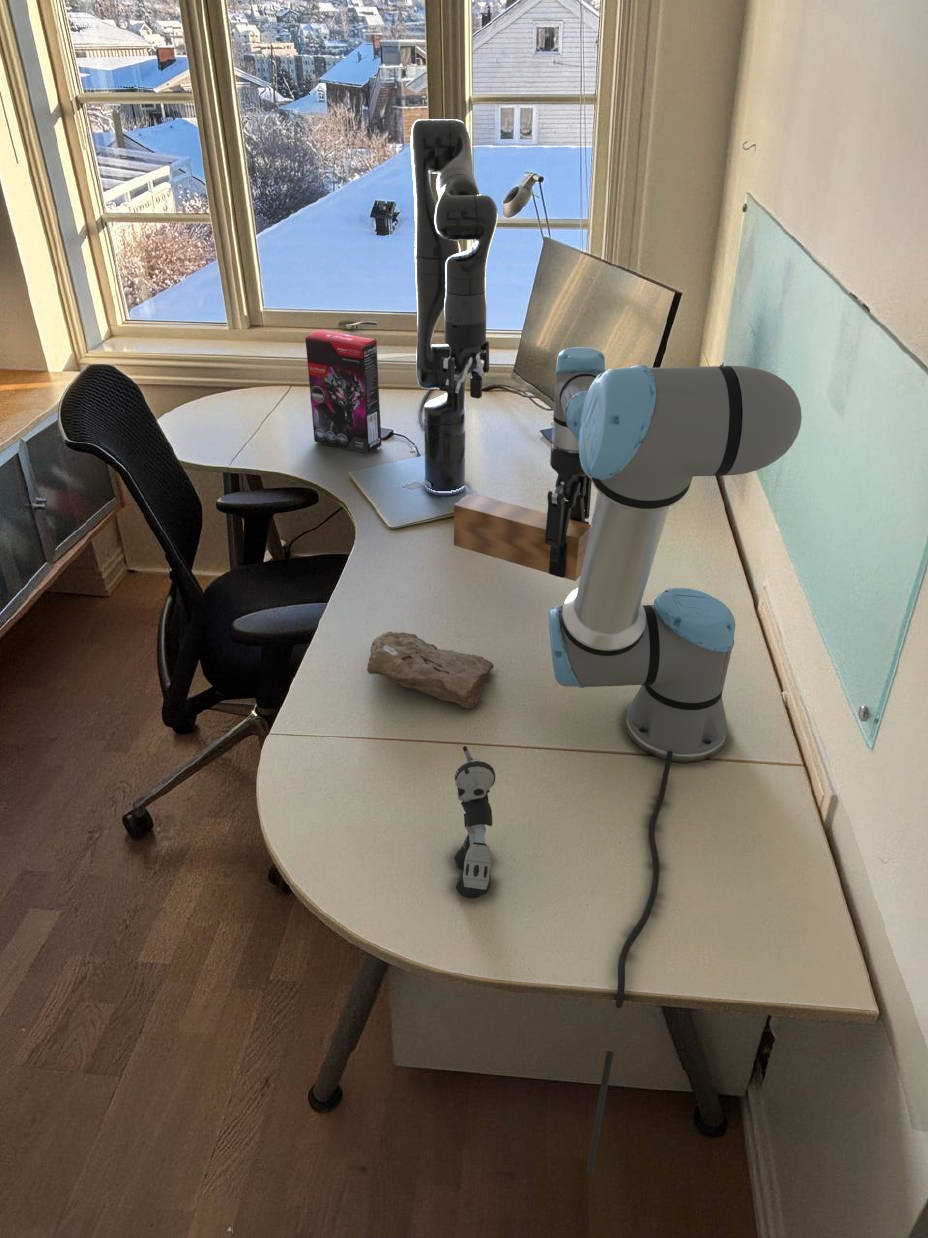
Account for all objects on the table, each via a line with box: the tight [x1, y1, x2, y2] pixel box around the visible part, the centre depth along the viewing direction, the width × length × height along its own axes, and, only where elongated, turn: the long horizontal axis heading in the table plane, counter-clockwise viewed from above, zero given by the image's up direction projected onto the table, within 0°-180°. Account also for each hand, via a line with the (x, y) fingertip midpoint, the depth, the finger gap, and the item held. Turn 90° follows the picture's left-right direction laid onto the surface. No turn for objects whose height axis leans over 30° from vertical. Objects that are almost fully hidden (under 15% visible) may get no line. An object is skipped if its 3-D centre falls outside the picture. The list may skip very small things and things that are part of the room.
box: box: [453, 492, 591, 582], centre depth 165 cm, size 25×6×8 cm, turn 60°
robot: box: [453, 745, 496, 899], centre depth 114 cm, size 20×5×20 cm, turn 3°
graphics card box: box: [304, 329, 382, 454], centre depth 226 cm, size 17×7×27 cm, turn 62°
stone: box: [366, 631, 495, 710], centre depth 151 cm, size 21×15×6 cm
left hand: (464, 404), depth 173 cm, fingers open, 8 cm apart
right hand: (564, 566), depth 164 cm, fingers closed on box, 6 cm apart
